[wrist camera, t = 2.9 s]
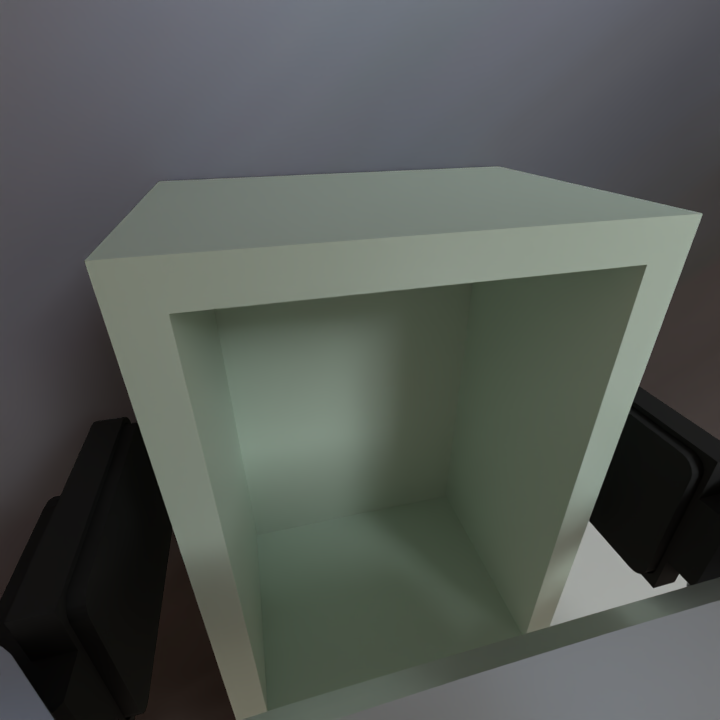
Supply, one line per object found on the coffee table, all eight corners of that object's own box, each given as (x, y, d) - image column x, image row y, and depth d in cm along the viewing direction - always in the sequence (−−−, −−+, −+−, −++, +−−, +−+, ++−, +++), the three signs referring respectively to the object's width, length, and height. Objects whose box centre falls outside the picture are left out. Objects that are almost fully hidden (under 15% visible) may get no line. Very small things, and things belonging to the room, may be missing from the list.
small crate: (158, 181, 8) (83, 261, 4) (498, 166, 10) (702, 213, 5) (238, 536, 13) (241, 736, 9) (453, 491, 15) (542, 645, 11)
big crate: (268, 566, 14) (288, 819, 9) (666, 477, 18) (842, 627, 12) (302, 754, 22) (323, 951, 17) (577, 666, 25) (666, 808, 20)
